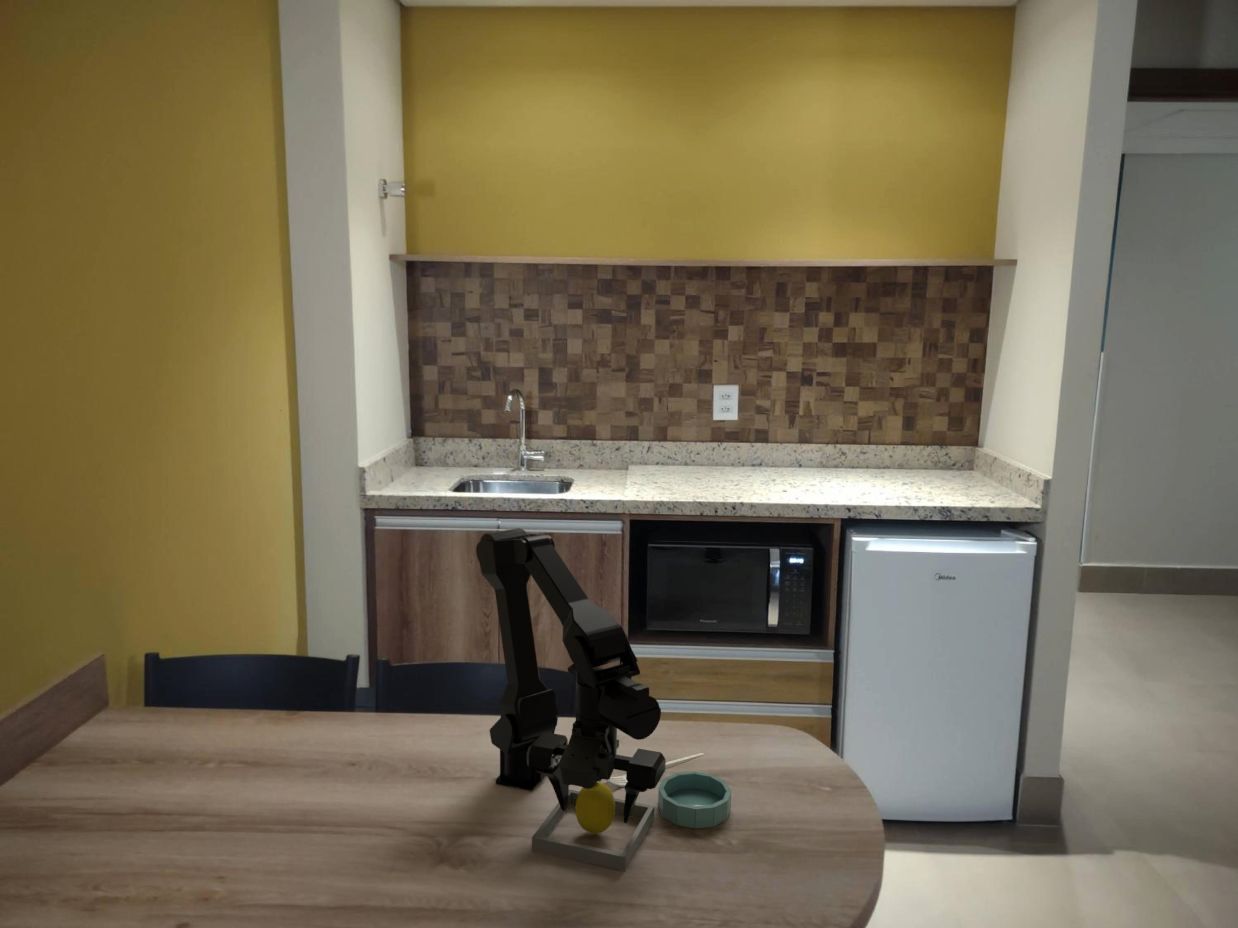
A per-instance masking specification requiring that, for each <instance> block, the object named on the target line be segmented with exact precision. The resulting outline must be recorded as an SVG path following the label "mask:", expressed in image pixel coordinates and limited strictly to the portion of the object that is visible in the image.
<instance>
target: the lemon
mask: <svg viewBox="0 0 1238 928" xmlns="http://www.w3.org/2000/svg"><path fill="white" fill-rule="evenodd" d="M579 791H580V792H579V795H578V797H577V801H576V806H575V817H576V820H577V823H578V824H579V826H580V827H581V828H582V829H583V830H584V831H586V832H588V833H590V834H592V835H594V836H596V835H598V834H601V833H603V832H605V831H606V830H608V828H610V827H611V825H612V823H613V821H614V818H615V815H616V814H615V801H614V798H615V797H614V794H613V792H612V790H611V788H610V787H608V786H607V784H605V783H603V782H602V781H600V782H599V781H597V783H596V785H595V786H594V787H593V788H591V789H585V788H583V787H581V789H580V790H579Z"/></svg>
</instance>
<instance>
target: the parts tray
mask: <svg viewBox="0 0 1238 928" xmlns="http://www.w3.org/2000/svg"><path fill="white" fill-rule="evenodd" d="M579 792H580V790H574V789H570V788H569V797H568V805H567V809H568V810H569V809H570V807H571V806H575V807H576V801H577V797H578V795H579ZM614 801H615V815H619V816H623V813H624V805H625V799H621V798H616V797H614ZM567 809H566V810H565V811H562V809H561V807H560V804H559V801H558V803H557V804H556V805H555V807H553V809H552V810H551V812H549V815H547V816H546V818H545V820H544V821H543V822H542V824H541V825H540V826H539V827H538V829H537V830H536V831H535V833H534V834H533V835H532V837H531V851H532V852H537V853H541V854H544V855H545V854H546V855H551V856H555V857H560V858H564V859H568V860H573V861H577V862H583V863H587V864H592V865H595V866H600V867H604V868H609V869H613V870H614V869H615V870H617V871H618V870H619V871H622V872H626V871H627V869H628V867H629V865H630V864H631V862H632V859H633V857H634V856H635V854H636V852H637V851H638V848H639V847H640V845H641V843H642V842H643V840H644V838H645V836H646V834H647V832H648V831H649V829H650V827H651V825H652V823H653V822H654V820H655V805H650V804H646V803H641V802H638V801H636V803H635V805H634V808H633V810H632V813H631V815H630V818H635V819H640V821H639V823H638V825H637V826H636V829H635V830H634V832H633V834H632V836H631V838H630V839H629V841H628V842H627V844H626V846H625V848H624V850H623V852H617V851H614V850H613V851H612V850H607V849H603V848H598V847H594V846H590V845H586V844H580V843H575V842H572V841H565V840H561V839H557V838H553V837H549V835H550V834H551V833H552V832H553V830H554V828H556V826H557V825H558V824H559V822H560V821H559V820H561V819H562V817H564V815H565V814H566V812H567V811H568V810H567ZM564 813H565V814H564ZM558 821H559V822H558ZM556 824H557V825H556ZM555 825H556V826H555Z"/></svg>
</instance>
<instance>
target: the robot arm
mask: <svg viewBox="0 0 1238 928" xmlns="http://www.w3.org/2000/svg"><path fill="white" fill-rule="evenodd" d="M475 551H476V552H475V553H476V558H477V560H478V562H479V566H480V571H481V574H482V576H483V577H484V579H485V580H486V581H487V582H488V584H489V585H490V586H491V587H492V588H493V589H494V593H495V594H494V595H495V602H496V608H497V609H496V610H497V616H498V620H499V622H498V623H499V629H500V636H501V643H502V651H503V658H504V665H505V673H506V679H507V684H506V687H505V689H504V692H503V694H502V697H501V699H500V702H499V707H500V708H499V710H500V711H499V712H500V718H499V719H498V720H497V721H496V722H495V724H493V725H492V726H491V728H490V729H489V736H490V742H491V744H492V745H493V746H495V747H496V748H497V749H499V775H498V777H496V779H495V780H494V781H495V782H494V783H495V785H501V786H505V787H510V788H514V789H515V788H516V789H521V790H525V791H530V792H531V791H534V790H535V789H536V788H537V787H538V785H540V783H541V782H542V781H543V780H544V778H546V777H547V778H548V781H549V782H550V784H551V786H552V788H553V791H554V794H555V796H556V798H557V799H556V800H557V801H558V802H559V804H560V807H561V809H562V811H565V810H566V809H567V805H568V797H569V789H570V788H569V786H571V785H572V786H575V787H580V788H585V789H591V788H593V787H594V786H595V785H596V783H597V781H598V782H602V780H606V781H608V780H609V779H610V777H612V774H613V771H614V770H617V771H620V772H621V771H622V772H625V773H626V780H627V781H628V782H626V785H625V786H624V787H623V788H624V791H625V797H624V800H625V805H624V813H623V815H622V816H623V823H624V824H628V822H629V820H630V818H631V817H630V815H631V813H632V810H633V808H634V805H635V803H636V802H637V801H638V796H639V795H640V793H646V792H647V791H648V790H654V789H655V788H656V787H657V785H658V784H659V782H660V780H661V779H662V777H663V776H664V773H665V771H666V769H665V764H666V761H667V760H666V758H665V756H664V754H663V753H662V752H660V751H655V750H649V749H644V748H637V750H636V751H635V752H634V754H633V756H626V755H620V754H617V750H618V748H619V747H620V739H618V730H619V731H621V732H622V733H624V734H626V735H627V736H629V737H631V738H632V739H634V740H640V741H641V740H644V739H646V738H649V737H650V736H651V735H652V734H653V733H654V732H655V730H656V729H657V727H658V725H659V722H660V721H661V715H662V709H661V707H660V703H659V702H658V700H657V699H656V698H655V697H653V696H651V695H650V687H649V686H647V685H645V684H643V683H639V682H637V681H635V680H633V679H632V678H634V677H636V676H639V675H641V671H640V668H639V665H638V659H637V657H636V655H635V652H634V650H633V649H632V647H631V644H630V642H629V639H628V636H627V634H626V632H625V629H624V628H623V627H622V625H621V624H620V623H619V622H618V621H617V619H615V617H614V616H613V615H612V614H611V613H610V612H609V611H608V610H607V609H604V608H603V607H601V606H598V605H596V604H594V603H593V602H592V601H591V600H590V598H589V597H588V595H587V593H585V591H584V589H583V588H582V586H581V585H580V584H579V582H578V580H577V579H576V578H575V576H574V575H573V574H572V571H571V570H570V568H568V565H566V562H565V561H564V559H562V557H561V556H560V553H558V551H557V550H556V545H555V541H554V539H553V538H552V536H550V535H549V534H545V533H527V532H526V530H524V529H523V528H520V527H519V528H513V529H511V528H510V529H506V530H499V531H492V532H487V533H484V534H483V535H482V536H481V537H480V541H479V542H478V543H477V544H476V547H475ZM531 577H532V579H533V580H534V583H536V585H537V586H538V588H539V590H540V592H541V593H542V594H543V596H544V597H545V599H546V601H547V602H548V604H549V605H550V607H551V608H552V610H553V612H554V613H555V614H556V616H557V618H558V619H559V621H560V623H561V625H562V643H563V646H564V648H565V649H566V651H567V653H568V656H569V659H570V661H572V664H571V665H569V666H568V667H567V672H568V673H570V674H572V675H573V676H575V678H576V679H575V721H573V723H572V728H571V735H570V738H569V740H568V738H567V736H566V735H564V734H557V733H555V731H556V728H557V726H558V720H559V715H560V714H559V711H558V706H557V702H556V693H555V691H554V690H553V689H552V688H550V689H549V688H548V687H547V685H545V683H544V682H543V681H542V680H541V676H540V671H539V666H538V665H539V663H538V657H537V651H536V643H535V636H534V629H533V628H534V627H533V622H532V615H531V613H532V612H531V607H530V599H529V594H528V592H529V591H528V583H529V581H530V578H531ZM619 661H620V663H621V664H617V665H614V666H610V667H607V668H606V667H604V666H605V665H608V664H611V663H612V664H613V663H616V662H619Z"/></svg>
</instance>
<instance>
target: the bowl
mask: <svg viewBox="0 0 1238 928" xmlns="http://www.w3.org/2000/svg"><path fill="white" fill-rule="evenodd" d="M658 786H659V787H658V798H657V799H658V800H657V802H658V803H657V808H658V809H659V812H660V814H661V816H662V817H663V818H664V819H666V820H667V821H669V822H671V823H673V824H674V825H677V826H682V827H685V828H691V829H703V828H713V827H716V826H717V825H720V824H721V823H723V822H725V821H727V820H728V818H729V815H730V813H731V811H732V810H731V809H732V807H731V806H732V790H731V788H730V787H729V785H728V783H727V782H726V781H725V780H723V779H721V778H719V776H718V777H717V776H715V775H714V774H712V773H711V774H710V773H705V772H701V771H700V772H699V771H683V772H682V771H681V772H675V773H673V774H671V775H669V776H667V777H664V778H663V779H662V781H661V783H660V784H659V785H658Z"/></svg>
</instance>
